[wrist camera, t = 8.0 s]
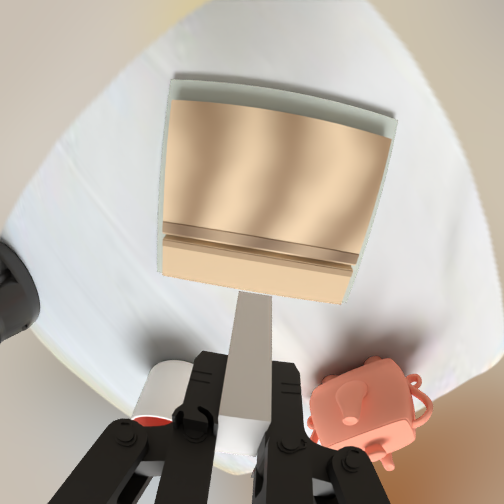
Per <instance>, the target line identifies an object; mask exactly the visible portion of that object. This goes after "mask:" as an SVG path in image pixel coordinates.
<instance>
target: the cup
mask: <svg viewBox="0 0 504 504" xmlns="http://www.w3.org/2000/svg"><path fill="white" fill-rule="evenodd" d="M192 368H193V364H192V363H189V362H185V361H180V360H168V361H163V362H160V363H158V364H157V365H155V366H154V367H153V368H152V369H151V371H150V373H149V375H148V377H147V380H146V382H145V385H144V387H143V389H142V392H141V394H140V397H139V399H138V402H137V404H136V407H135V409H134V411H133V414H132V416H131V420H134V421H137V422H138V423H139V424H141V425H142V426H162V425H166V424H169V423H171V422H172V414H173V412H174V410H175V409H176V408H177V407H179V406H180V405H181V404H183V401H184V397H185V393H186V390H187V386H188V382H189V379H190V375H191V372H192Z"/></svg>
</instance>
